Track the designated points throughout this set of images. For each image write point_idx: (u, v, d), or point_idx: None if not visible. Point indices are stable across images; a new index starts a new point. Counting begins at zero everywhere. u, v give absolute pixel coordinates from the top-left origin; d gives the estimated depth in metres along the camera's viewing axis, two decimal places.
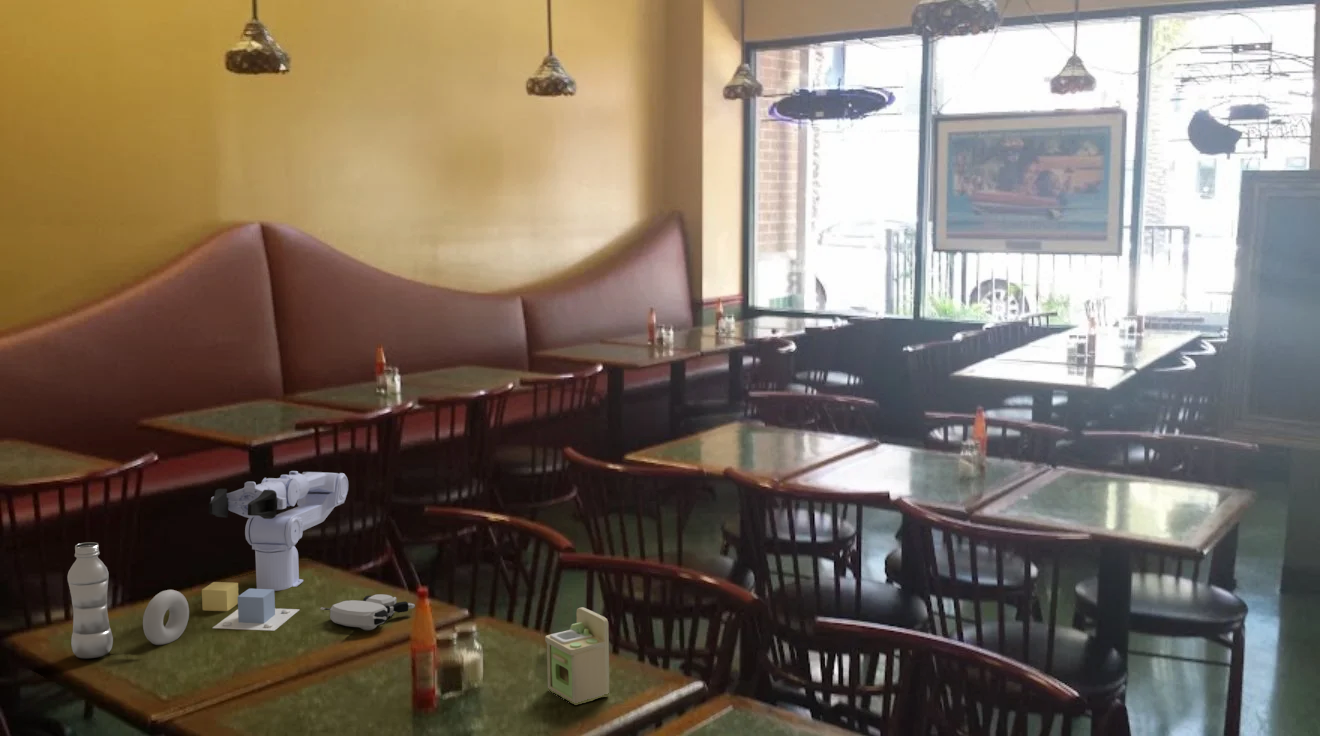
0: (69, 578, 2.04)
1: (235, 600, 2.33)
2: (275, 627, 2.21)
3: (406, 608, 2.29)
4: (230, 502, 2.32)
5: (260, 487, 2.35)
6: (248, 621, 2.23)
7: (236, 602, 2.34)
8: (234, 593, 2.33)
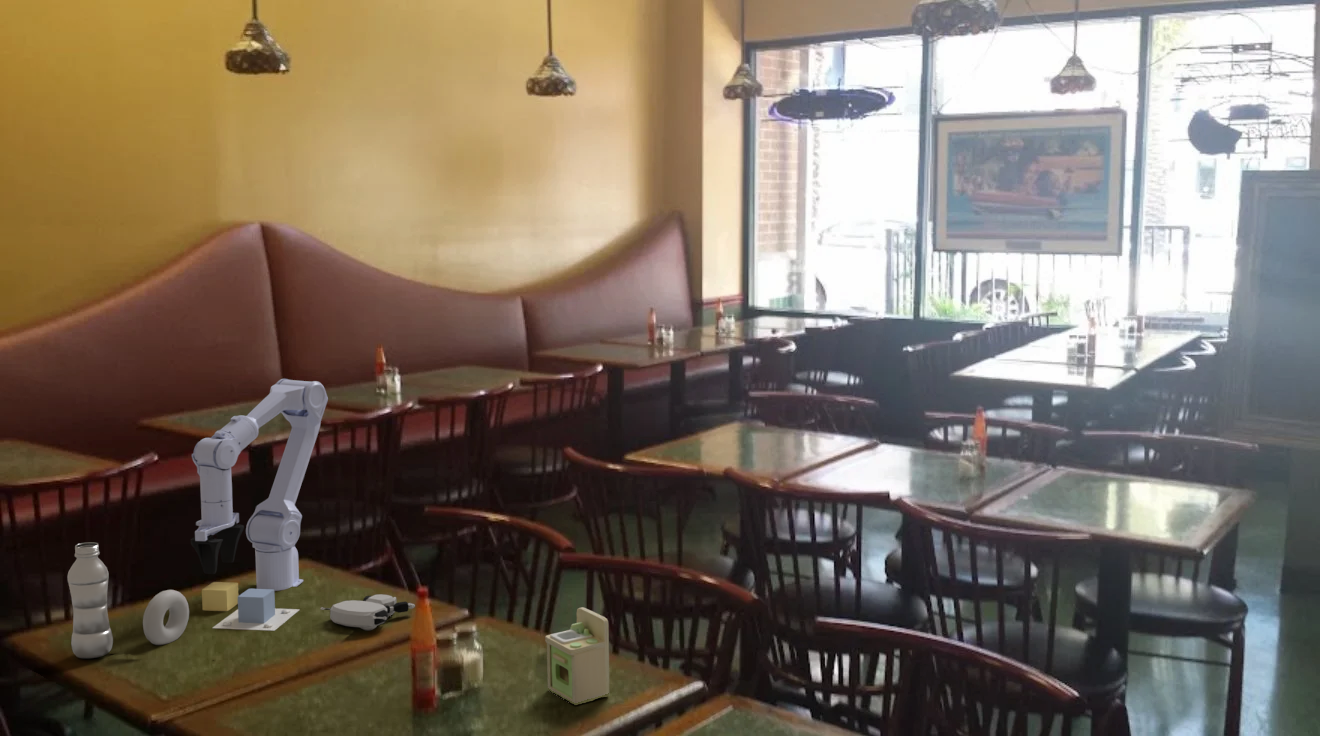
0: (69, 578, 2.04)
1: (235, 600, 2.33)
2: (275, 627, 2.21)
3: (406, 608, 2.29)
4: None
5: (201, 513, 2.29)
6: (248, 621, 2.23)
7: (236, 602, 2.34)
8: (234, 593, 2.33)
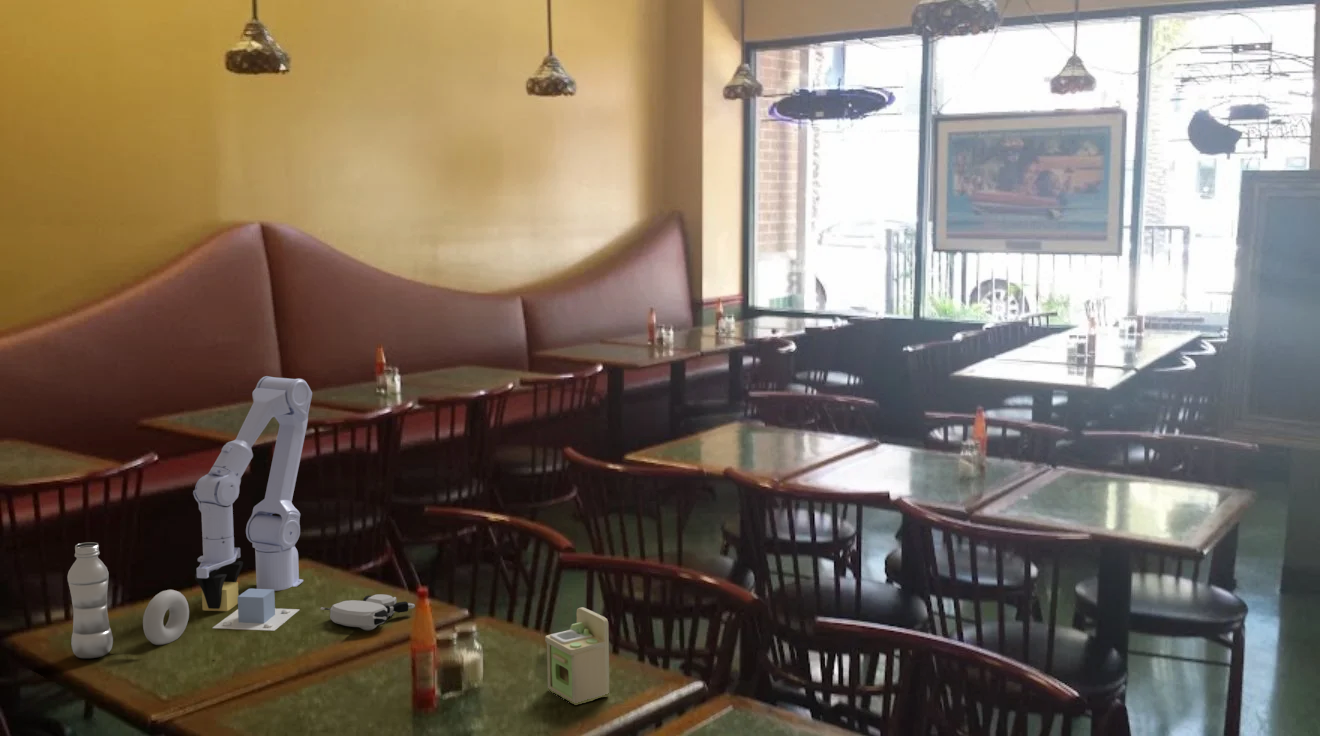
0: (69, 578, 2.04)
1: (235, 599, 2.33)
2: (275, 627, 2.21)
3: (406, 608, 2.29)
4: None
5: None
6: (248, 621, 2.23)
7: (236, 601, 2.34)
8: (234, 592, 2.33)
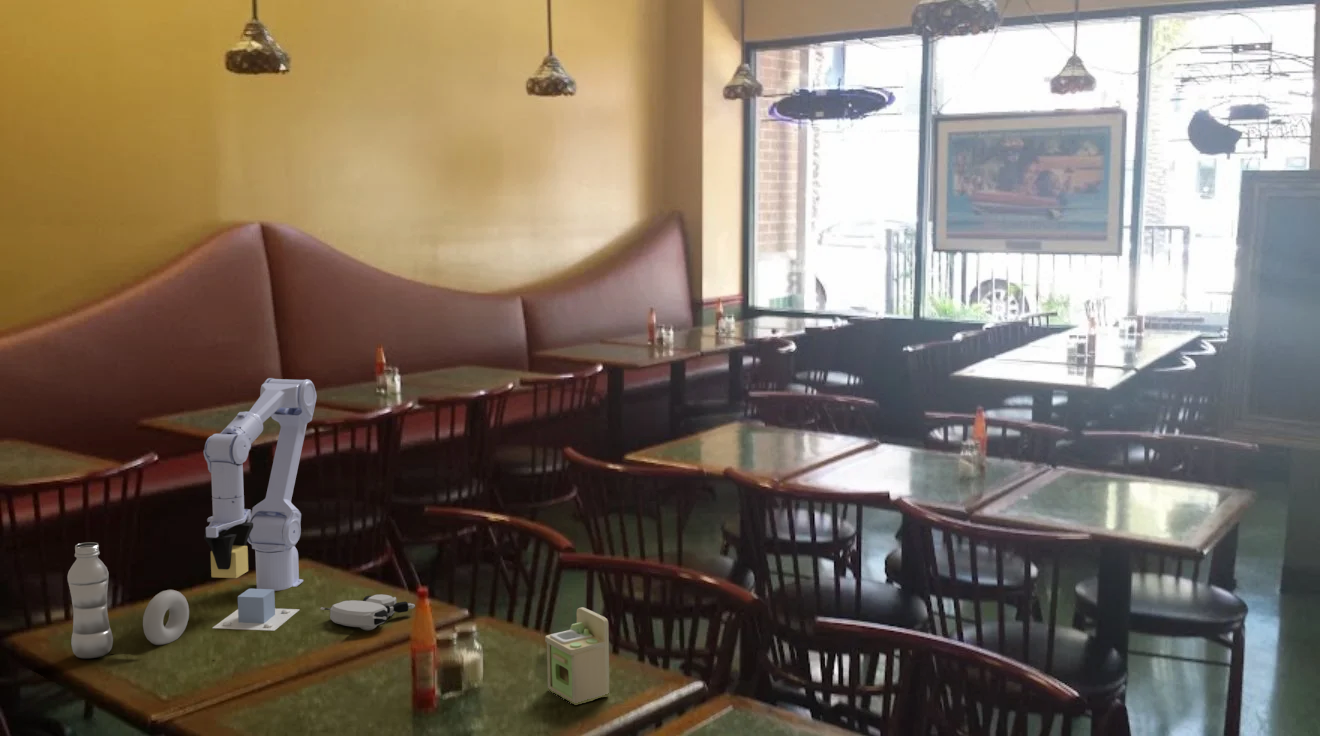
0: (69, 578, 2.04)
1: (244, 563, 2.30)
2: (275, 627, 2.21)
3: (406, 608, 2.29)
4: None
5: None
6: (248, 621, 2.23)
7: (245, 565, 2.30)
8: (243, 556, 2.30)
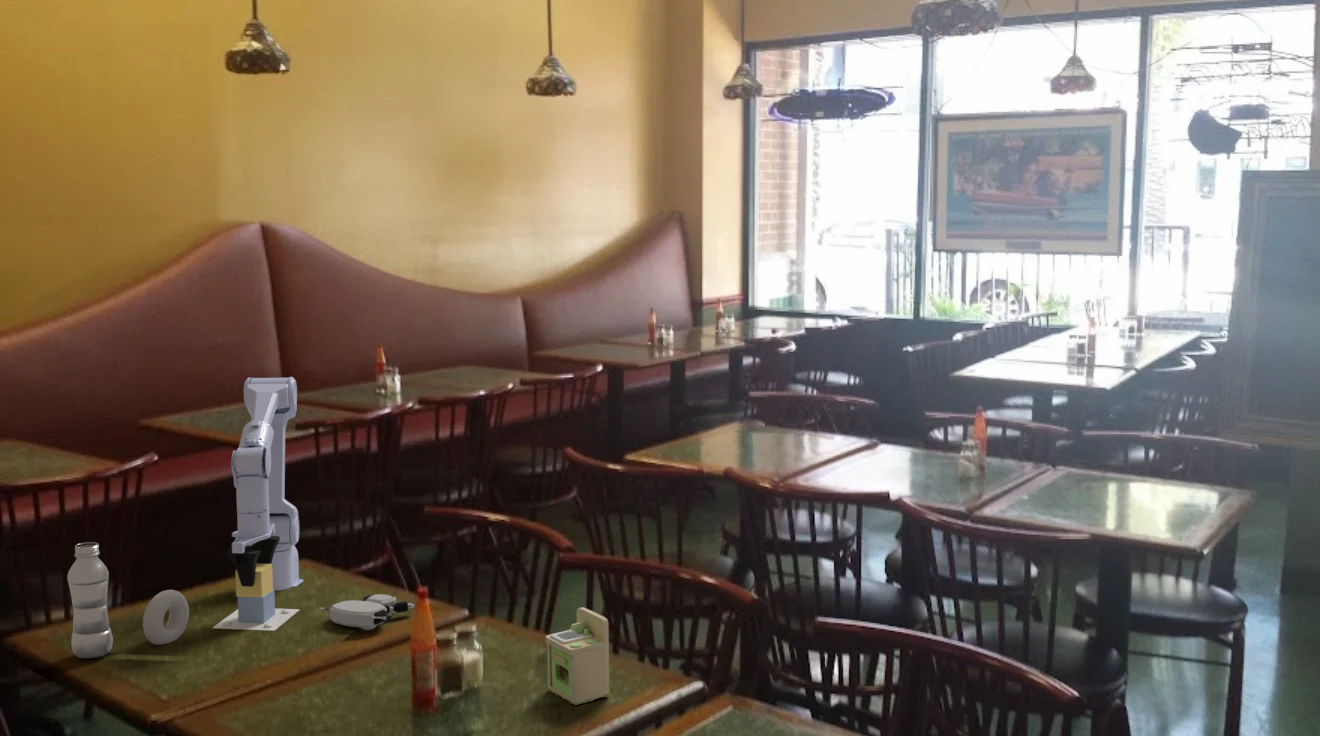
0: (69, 578, 2.04)
1: (269, 582, 2.26)
2: (275, 627, 2.21)
3: (406, 608, 2.29)
4: None
5: None
6: (248, 621, 2.23)
7: (270, 584, 2.26)
8: (268, 574, 2.25)
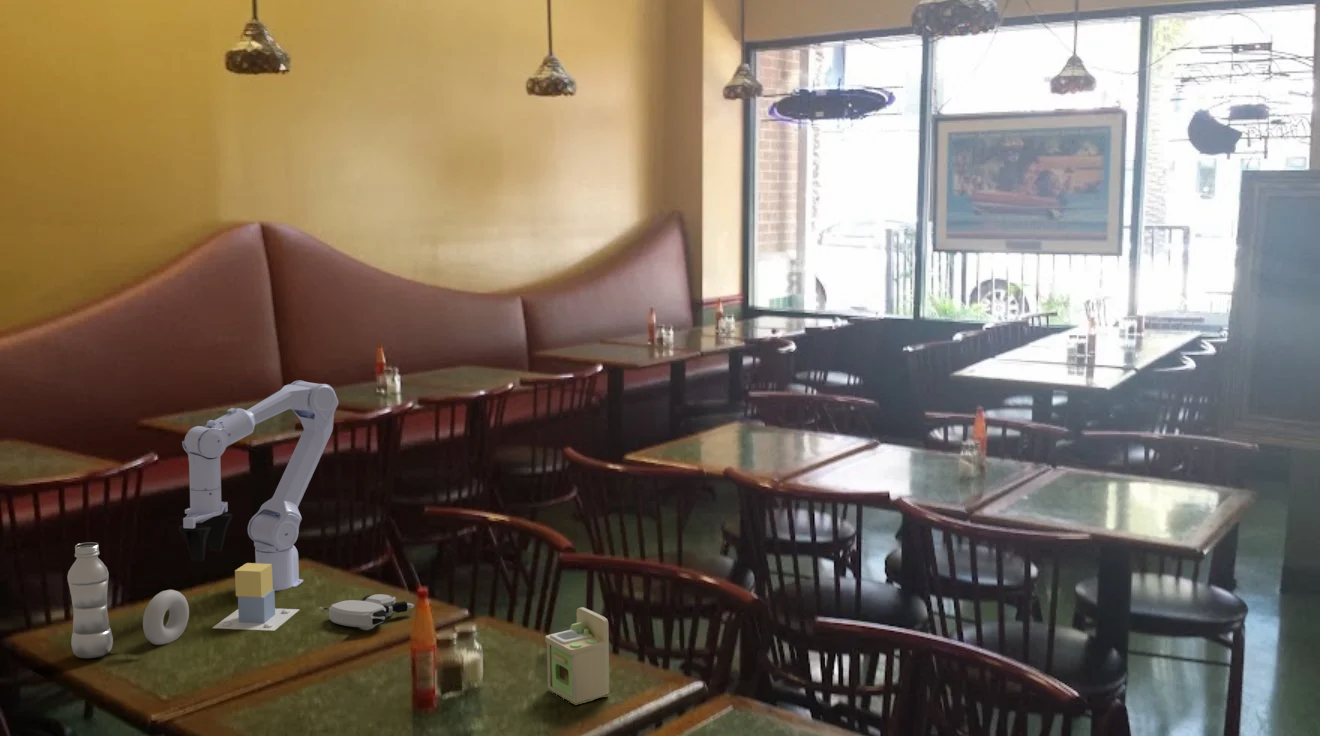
0: (69, 578, 2.04)
1: (269, 582, 2.26)
2: (275, 627, 2.21)
3: (405, 608, 2.29)
4: None
5: (190, 501, 2.31)
6: (249, 621, 2.23)
7: (269, 584, 2.26)
8: (268, 574, 2.25)
